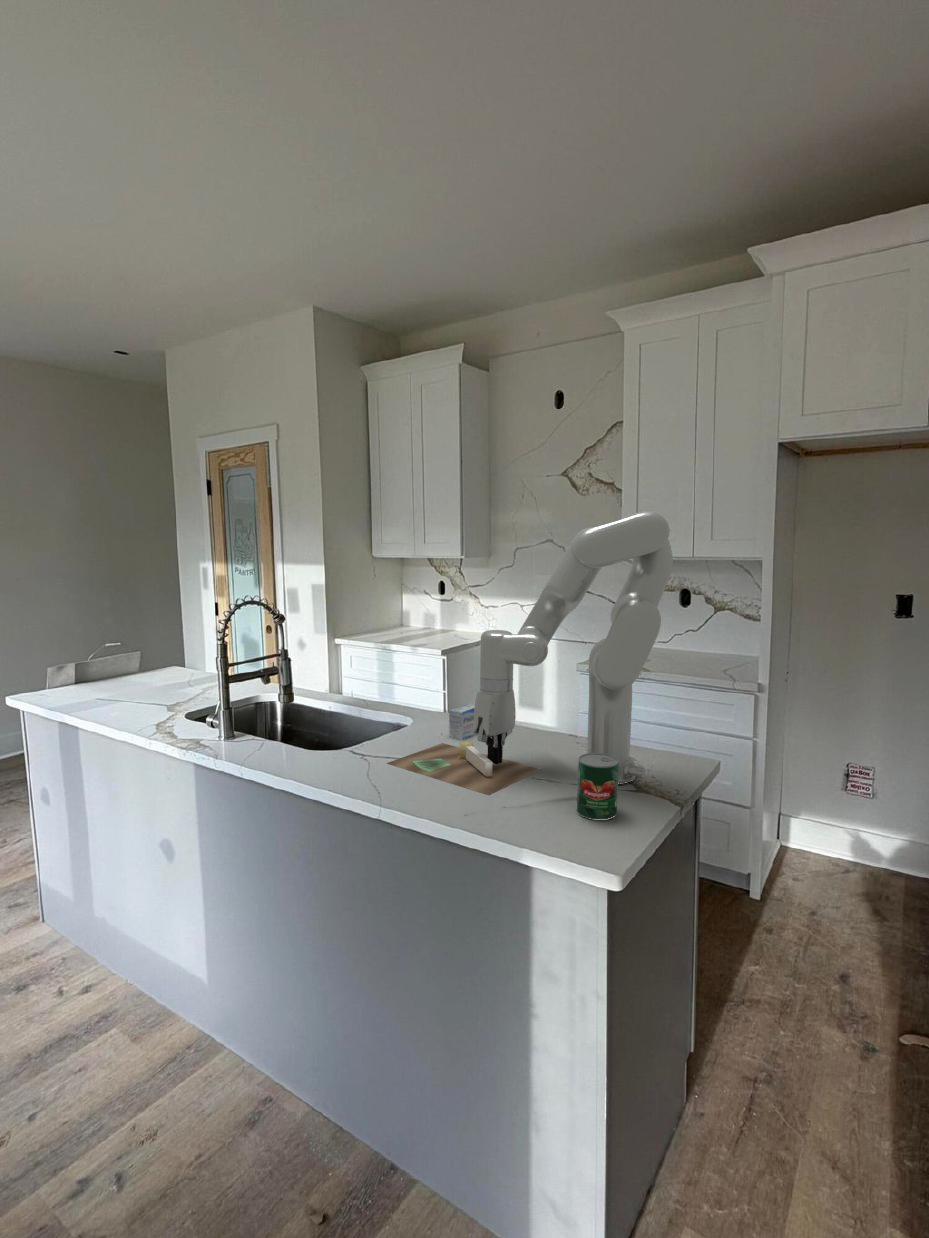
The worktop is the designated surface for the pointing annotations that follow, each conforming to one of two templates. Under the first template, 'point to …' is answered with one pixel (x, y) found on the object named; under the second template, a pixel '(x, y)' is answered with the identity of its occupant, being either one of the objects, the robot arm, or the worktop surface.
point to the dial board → (462, 769)
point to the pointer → (475, 758)
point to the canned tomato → (597, 785)
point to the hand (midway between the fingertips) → (494, 762)
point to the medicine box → (461, 722)
